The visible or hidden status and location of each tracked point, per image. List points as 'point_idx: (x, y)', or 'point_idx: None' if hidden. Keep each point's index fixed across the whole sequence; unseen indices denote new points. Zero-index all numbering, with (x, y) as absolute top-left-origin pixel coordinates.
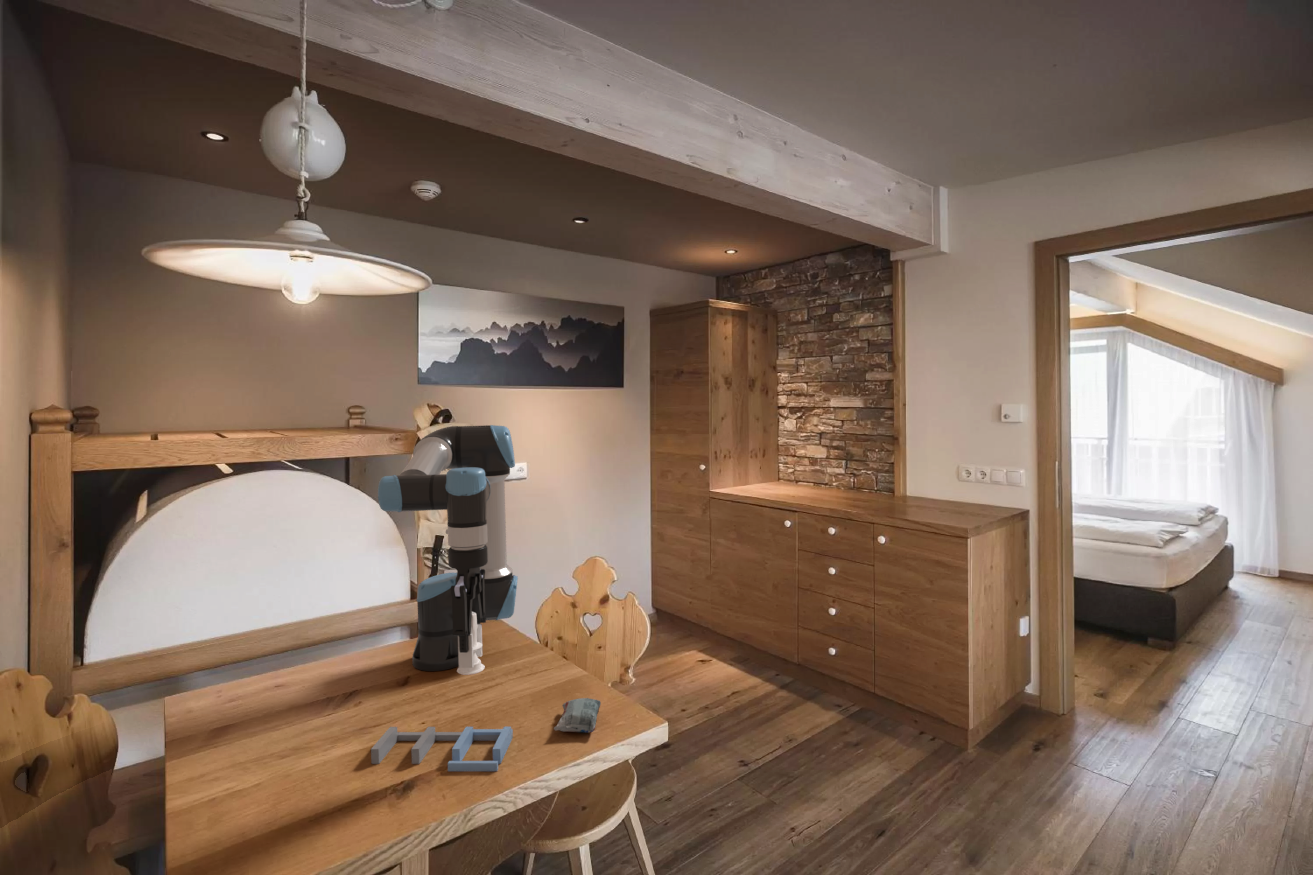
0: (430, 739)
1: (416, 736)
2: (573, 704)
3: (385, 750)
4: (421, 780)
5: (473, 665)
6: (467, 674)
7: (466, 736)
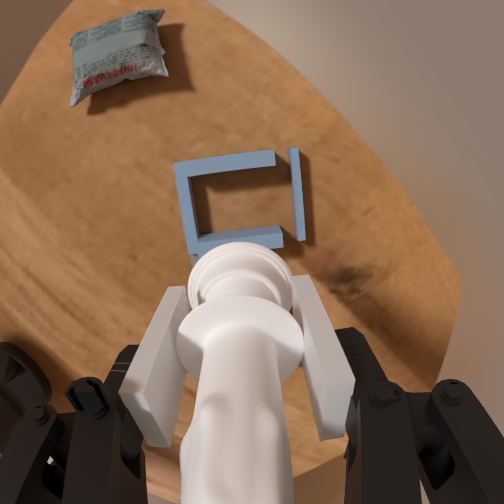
0: None
1: None
2: (103, 57)
3: None
4: (329, 265)
5: (295, 277)
6: None
7: (235, 239)
